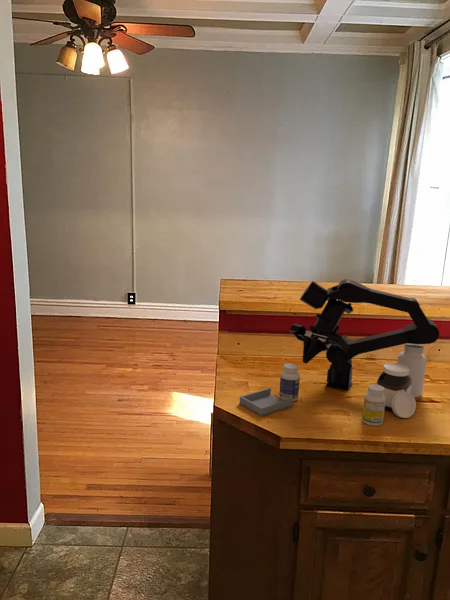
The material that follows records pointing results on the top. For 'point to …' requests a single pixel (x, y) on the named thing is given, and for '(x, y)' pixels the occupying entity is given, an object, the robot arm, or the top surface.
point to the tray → (264, 402)
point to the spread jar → (397, 389)
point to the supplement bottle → (374, 405)
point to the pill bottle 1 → (289, 382)
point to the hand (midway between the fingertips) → (304, 362)
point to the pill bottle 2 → (414, 366)
